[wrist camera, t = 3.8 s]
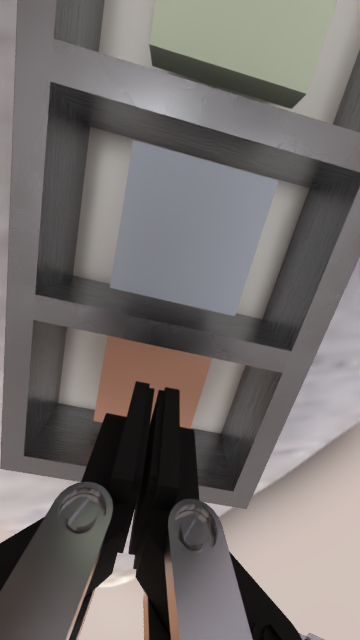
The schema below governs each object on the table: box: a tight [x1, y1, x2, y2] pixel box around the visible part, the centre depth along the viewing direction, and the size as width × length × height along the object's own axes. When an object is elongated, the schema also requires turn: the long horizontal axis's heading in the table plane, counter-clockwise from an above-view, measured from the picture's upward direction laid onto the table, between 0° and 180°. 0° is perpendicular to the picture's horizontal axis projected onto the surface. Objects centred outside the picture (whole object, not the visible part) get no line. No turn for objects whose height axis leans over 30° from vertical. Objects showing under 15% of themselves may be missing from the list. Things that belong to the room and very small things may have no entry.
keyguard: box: [0, 0, 360, 509], centre depth 11 cm, size 24×12×4 cm, turn 166°
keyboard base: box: [58, 0, 360, 434], centre depth 14 cm, size 24×12×2 cm, turn 166°
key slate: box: [110, 140, 278, 316], centre depth 11 cm, size 5×5×2 cm
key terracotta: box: [93, 336, 212, 429], centre depth 15 cm, size 5×5×2 cm
